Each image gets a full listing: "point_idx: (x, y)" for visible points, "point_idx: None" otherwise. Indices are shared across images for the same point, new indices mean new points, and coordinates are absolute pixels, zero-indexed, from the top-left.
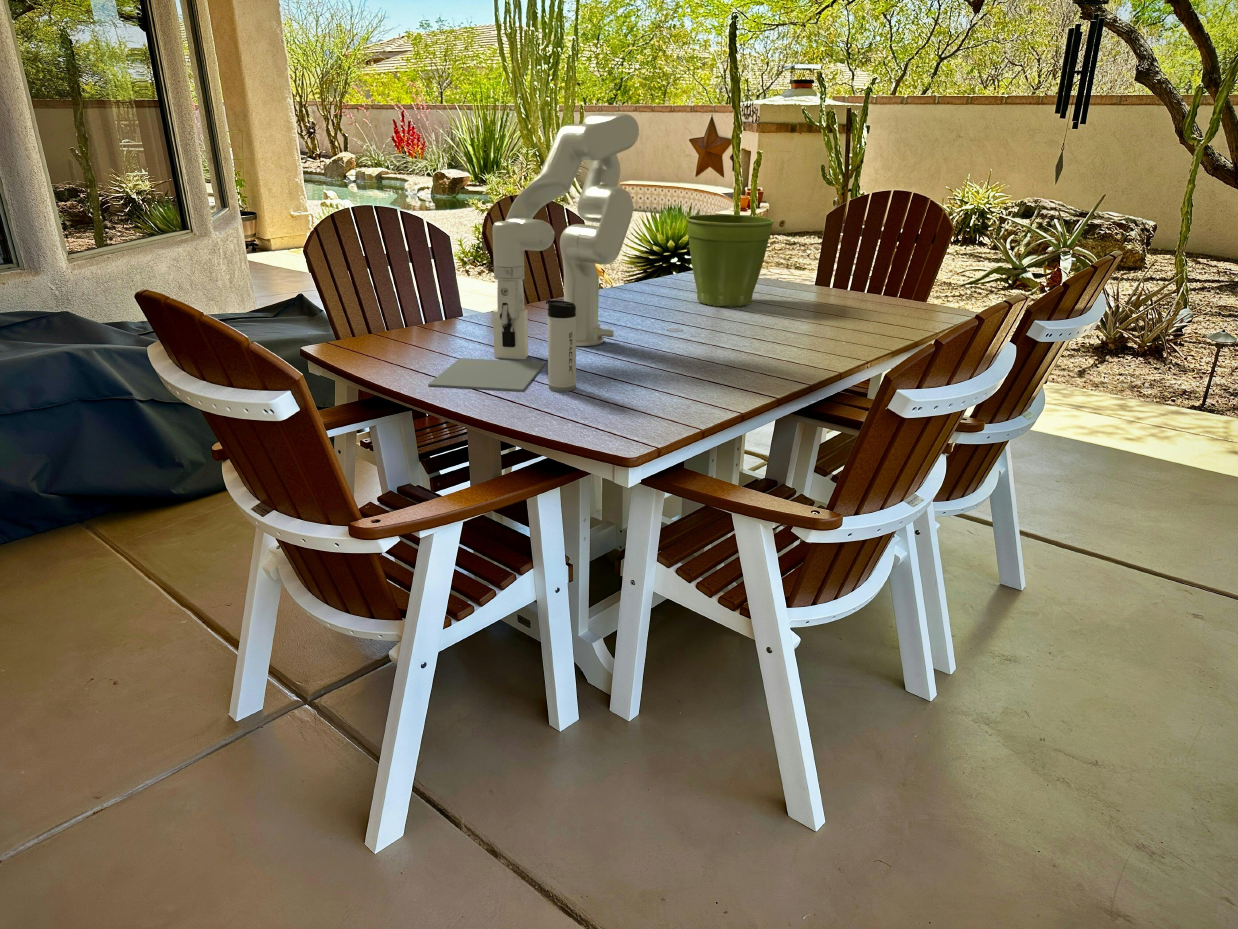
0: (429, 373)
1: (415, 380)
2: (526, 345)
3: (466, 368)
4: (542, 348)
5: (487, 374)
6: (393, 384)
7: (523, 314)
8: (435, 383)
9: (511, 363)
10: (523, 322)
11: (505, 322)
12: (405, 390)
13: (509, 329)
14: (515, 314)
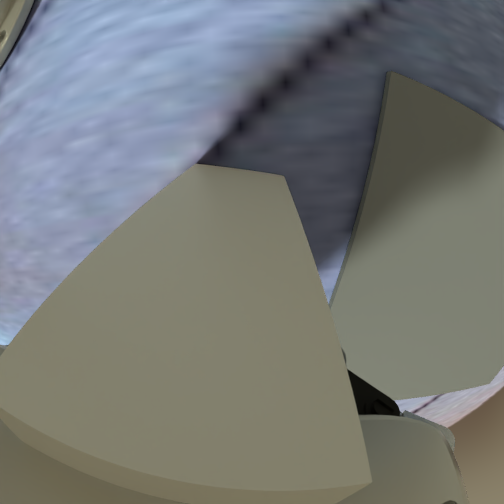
0: (409, 411)
1: (444, 409)
2: (231, 184)
3: (420, 366)
4: (55, 121)
5: (494, 301)
6: (449, 421)
7: (356, 446)
8: (492, 375)
9: (402, 240)
10: (330, 322)
11: (452, 437)
12: (486, 396)
13: (357, 378)
14: (459, 475)
